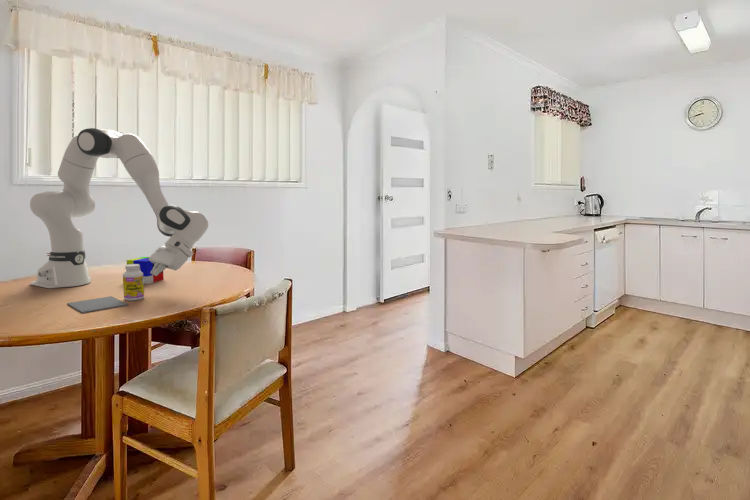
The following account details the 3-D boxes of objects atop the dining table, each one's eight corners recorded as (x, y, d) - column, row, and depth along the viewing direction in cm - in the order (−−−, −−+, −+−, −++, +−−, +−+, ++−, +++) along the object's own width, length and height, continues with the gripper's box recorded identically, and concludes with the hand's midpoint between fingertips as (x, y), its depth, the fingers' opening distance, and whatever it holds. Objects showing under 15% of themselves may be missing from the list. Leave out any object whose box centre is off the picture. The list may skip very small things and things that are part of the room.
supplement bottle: (123, 301, 157) (121, 267, 156) (124, 297, 163) (122, 264, 161) (144, 300, 161) (142, 266, 159) (144, 296, 166) (142, 263, 165)
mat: (111, 297, 163) (111, 296, 163) (128, 305, 153) (128, 304, 153) (67, 304, 153) (67, 303, 153) (82, 313, 142) (82, 311, 142)
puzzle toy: (148, 284, 187) (146, 261, 186) (127, 282, 189) (126, 260, 188) (163, 279, 197) (162, 257, 195) (144, 278, 199) (143, 256, 197)
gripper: (159, 239, 177) (135, 265, 171) (183, 244, 164) (158, 273, 158) (171, 249, 181) (148, 275, 175) (195, 254, 168) (171, 283, 162)
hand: (153, 274), depth 166 cm, fingers closed
